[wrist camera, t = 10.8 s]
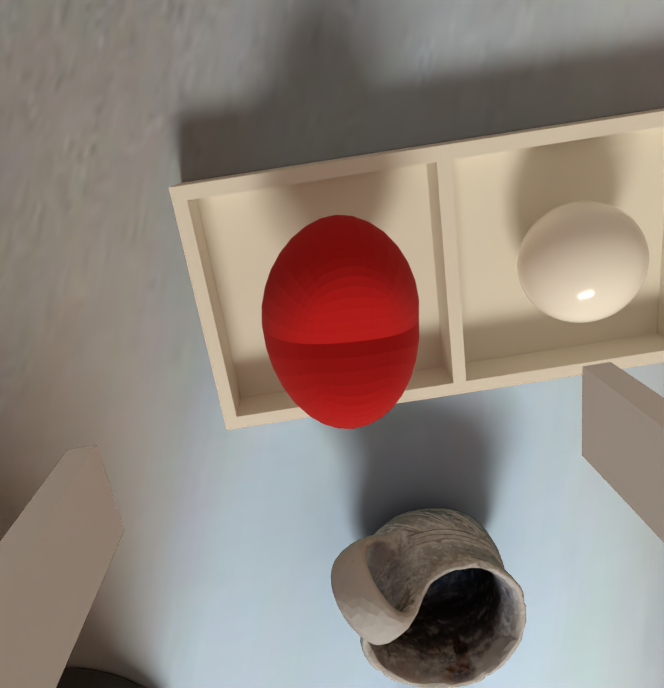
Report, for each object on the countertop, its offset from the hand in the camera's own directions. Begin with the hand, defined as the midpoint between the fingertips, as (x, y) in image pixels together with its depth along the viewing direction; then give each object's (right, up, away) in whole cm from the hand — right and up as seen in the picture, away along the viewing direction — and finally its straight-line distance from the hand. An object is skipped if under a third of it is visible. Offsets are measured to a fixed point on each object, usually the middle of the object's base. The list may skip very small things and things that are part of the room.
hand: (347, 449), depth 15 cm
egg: (+12, +8, +16) cm, 21 cm away
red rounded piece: (-1, +6, +16) cm, 17 cm away
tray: (+6, +7, +16) cm, 19 cm away
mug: (+4, -10, +23) cm, 25 cm away
